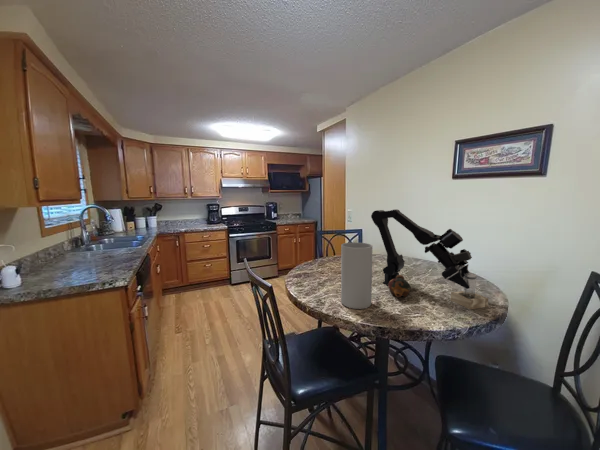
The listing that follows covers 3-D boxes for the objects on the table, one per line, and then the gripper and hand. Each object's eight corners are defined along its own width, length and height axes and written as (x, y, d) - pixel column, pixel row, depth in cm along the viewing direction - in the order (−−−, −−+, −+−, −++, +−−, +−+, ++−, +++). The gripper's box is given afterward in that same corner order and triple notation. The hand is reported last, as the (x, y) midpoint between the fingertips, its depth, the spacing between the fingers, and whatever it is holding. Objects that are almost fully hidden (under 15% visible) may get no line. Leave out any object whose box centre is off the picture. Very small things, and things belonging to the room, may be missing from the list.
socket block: (469, 309, 95) (470, 300, 95) (450, 300, 104) (451, 292, 103) (487, 306, 97) (488, 298, 97) (467, 298, 106) (467, 290, 106)
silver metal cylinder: (465, 305, 99) (466, 275, 98) (460, 301, 103) (462, 272, 102) (476, 306, 98) (478, 276, 97) (471, 301, 102) (473, 273, 101)
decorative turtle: (408, 290, 116) (410, 274, 115) (411, 304, 102) (413, 287, 101) (387, 286, 119) (388, 271, 118) (387, 300, 105) (388, 283, 104)
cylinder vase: (366, 312, 94) (367, 249, 91) (336, 305, 100) (336, 246, 98) (374, 301, 104) (375, 244, 102) (347, 295, 111) (347, 241, 108)
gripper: (452, 247, 95) (485, 280, 88) (463, 240, 108) (493, 269, 101) (429, 262, 101) (459, 295, 95) (443, 255, 114) (469, 283, 108)
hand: (471, 285), depth 99 cm, fingers open, 9 cm apart
